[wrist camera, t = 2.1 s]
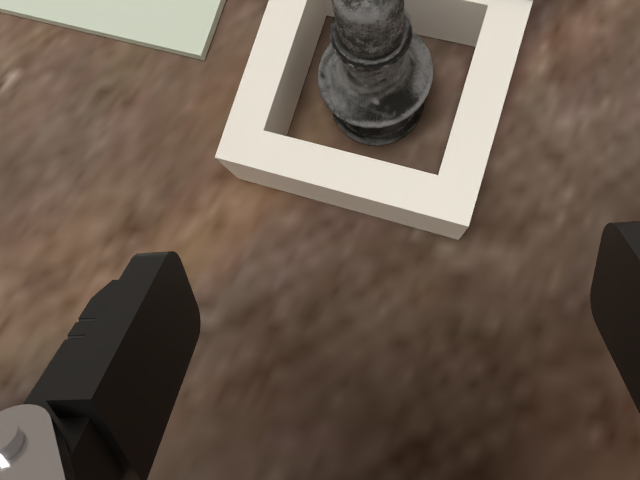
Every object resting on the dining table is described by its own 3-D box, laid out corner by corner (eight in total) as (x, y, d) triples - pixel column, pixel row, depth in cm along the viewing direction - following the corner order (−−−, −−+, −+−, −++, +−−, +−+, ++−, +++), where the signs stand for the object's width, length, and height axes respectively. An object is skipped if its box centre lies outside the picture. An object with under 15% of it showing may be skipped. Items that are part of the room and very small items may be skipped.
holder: (238, 178, 31) (209, 152, 26) (305, -21, 32) (289, -80, 27) (458, 240, 28) (471, 223, 24) (520, 22, 30) (544, -35, 25)
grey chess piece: (352, 40, 31) (325, -133, 19) (446, 74, 30) (477, -87, 18) (309, 128, 30) (255, 5, 19) (403, 166, 29) (406, 61, 18)
